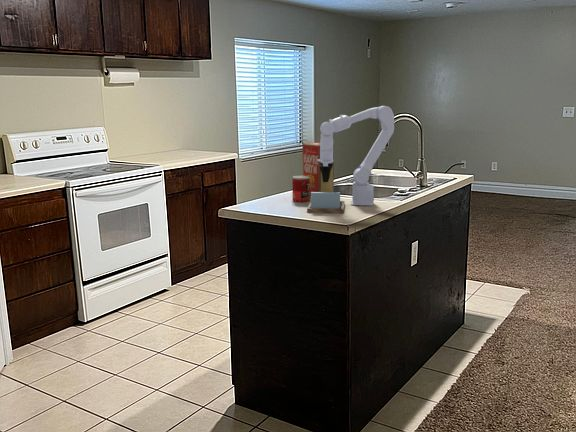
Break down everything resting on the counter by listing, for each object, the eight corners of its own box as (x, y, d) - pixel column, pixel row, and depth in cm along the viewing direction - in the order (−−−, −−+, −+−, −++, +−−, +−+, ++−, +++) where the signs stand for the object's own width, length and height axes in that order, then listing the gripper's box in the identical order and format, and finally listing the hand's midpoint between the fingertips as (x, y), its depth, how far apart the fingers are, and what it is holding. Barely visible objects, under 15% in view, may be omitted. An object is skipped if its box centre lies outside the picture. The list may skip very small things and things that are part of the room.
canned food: (303, 202, 257) (303, 178, 254) (289, 200, 261) (289, 177, 259) (312, 200, 263) (312, 176, 261) (298, 198, 267) (298, 175, 265)
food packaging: (301, 195, 275) (301, 143, 270) (316, 193, 281) (316, 142, 275) (319, 199, 265) (319, 145, 259) (334, 196, 270) (335, 143, 265)
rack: (344, 204, 252) (344, 201, 251) (343, 213, 234) (343, 209, 234) (310, 204, 253) (310, 200, 253) (307, 212, 236) (307, 208, 236)
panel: (339, 211, 239) (340, 192, 237) (339, 212, 237) (340, 193, 235) (311, 210, 240) (311, 191, 238) (310, 211, 238) (310, 192, 236)
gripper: (318, 148, 256) (318, 178, 259) (316, 151, 242) (315, 183, 245) (334, 148, 255) (333, 178, 258) (332, 151, 241) (332, 183, 244)
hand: (326, 180), depth 252 cm, fingers open, 7 cm apart
